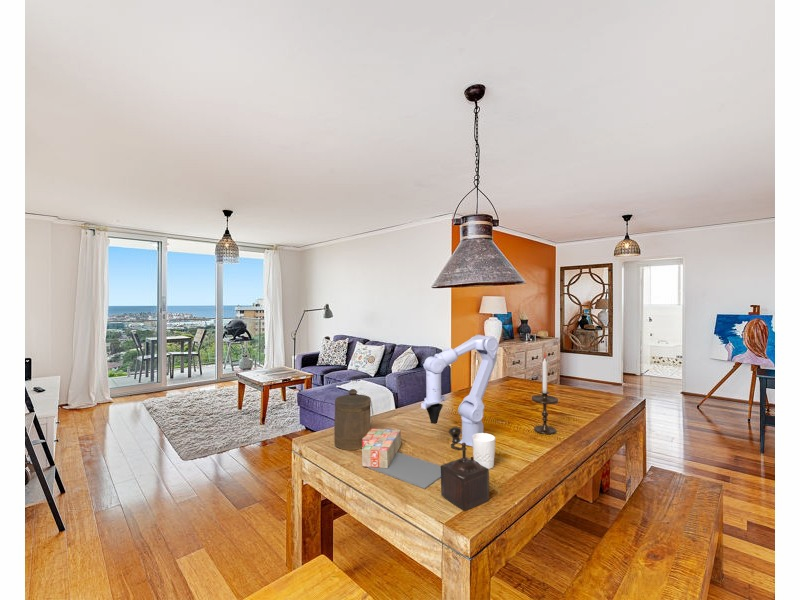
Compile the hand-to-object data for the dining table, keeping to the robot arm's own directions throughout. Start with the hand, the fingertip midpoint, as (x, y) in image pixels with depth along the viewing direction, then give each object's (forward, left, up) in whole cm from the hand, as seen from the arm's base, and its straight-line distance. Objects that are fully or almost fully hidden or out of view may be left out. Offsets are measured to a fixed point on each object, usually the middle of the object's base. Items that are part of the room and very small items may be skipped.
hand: (434, 423), depth 147 cm
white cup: (+1, +21, -11) cm, 24 cm away
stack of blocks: (+14, -8, -7) cm, 18 cm away
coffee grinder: (+23, +24, -11) cm, 35 cm away
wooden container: (+14, -30, -11) cm, 35 cm away
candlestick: (-46, +28, -11) cm, 55 cm away
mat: (+19, +2, -10) cm, 22 cm away
